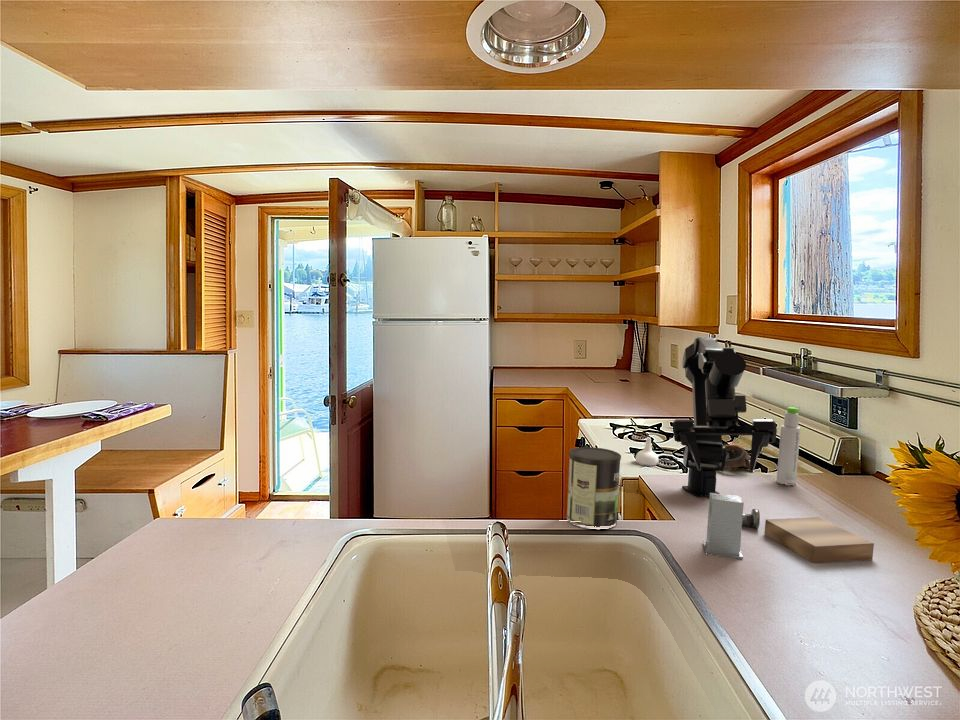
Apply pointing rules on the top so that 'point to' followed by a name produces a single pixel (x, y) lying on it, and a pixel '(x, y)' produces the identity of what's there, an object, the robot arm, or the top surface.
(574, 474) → the coffee can
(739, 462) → the pottery mug
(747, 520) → the bolt
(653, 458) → the garlic bulb
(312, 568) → the top surface
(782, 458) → the bottle
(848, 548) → the stand
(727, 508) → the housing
